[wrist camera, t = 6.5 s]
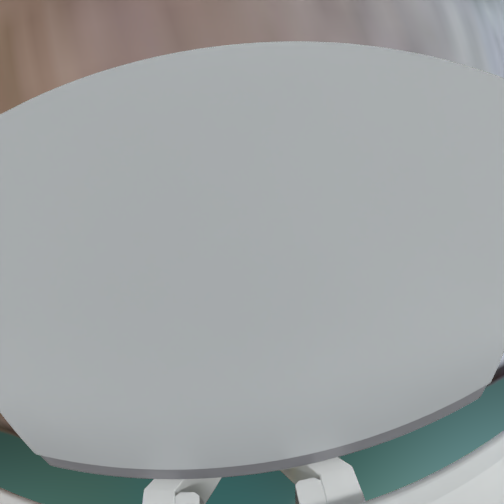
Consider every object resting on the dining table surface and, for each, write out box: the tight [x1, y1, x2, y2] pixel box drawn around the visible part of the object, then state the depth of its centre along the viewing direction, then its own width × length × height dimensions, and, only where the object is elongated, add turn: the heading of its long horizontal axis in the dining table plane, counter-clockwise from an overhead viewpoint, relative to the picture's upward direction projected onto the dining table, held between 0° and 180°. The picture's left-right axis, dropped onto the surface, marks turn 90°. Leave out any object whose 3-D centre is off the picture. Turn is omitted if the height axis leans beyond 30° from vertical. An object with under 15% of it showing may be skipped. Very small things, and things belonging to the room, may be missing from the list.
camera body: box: [0, 41, 504, 479], centre depth 7 cm, size 14×8×7 cm, turn 97°
